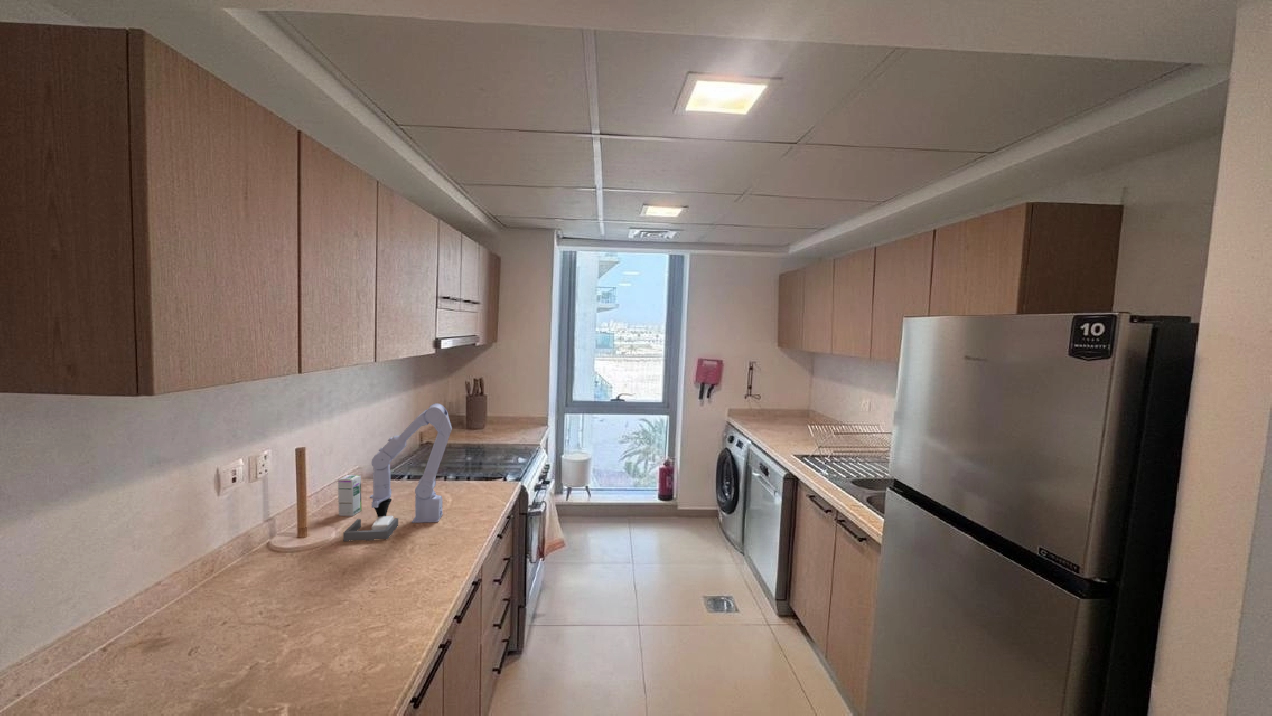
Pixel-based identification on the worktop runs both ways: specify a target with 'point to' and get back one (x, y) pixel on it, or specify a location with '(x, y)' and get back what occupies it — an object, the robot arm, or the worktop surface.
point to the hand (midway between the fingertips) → (381, 519)
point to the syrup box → (349, 495)
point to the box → (368, 532)
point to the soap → (382, 522)
